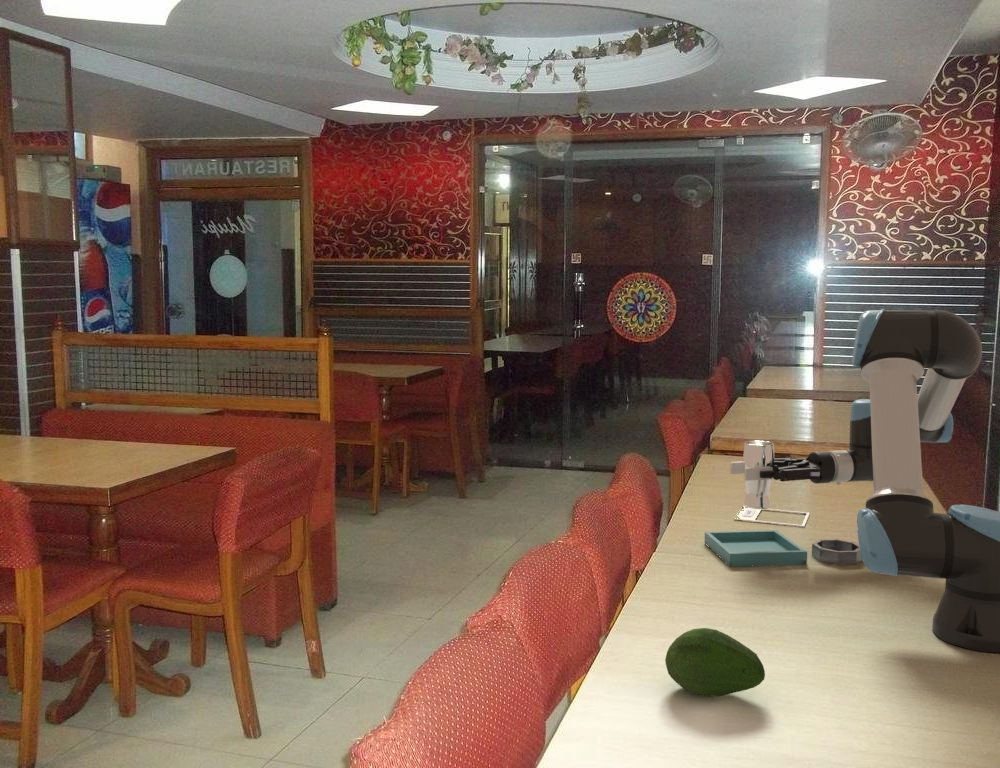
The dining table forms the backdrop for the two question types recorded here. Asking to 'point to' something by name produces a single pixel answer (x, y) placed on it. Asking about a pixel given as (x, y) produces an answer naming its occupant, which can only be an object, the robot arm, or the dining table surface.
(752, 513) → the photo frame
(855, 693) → the dining table surface
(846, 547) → the holder ring
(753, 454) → the silver metal tumbler
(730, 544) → the tray
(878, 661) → the dining table surface
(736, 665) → the fruit
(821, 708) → the dining table surface
